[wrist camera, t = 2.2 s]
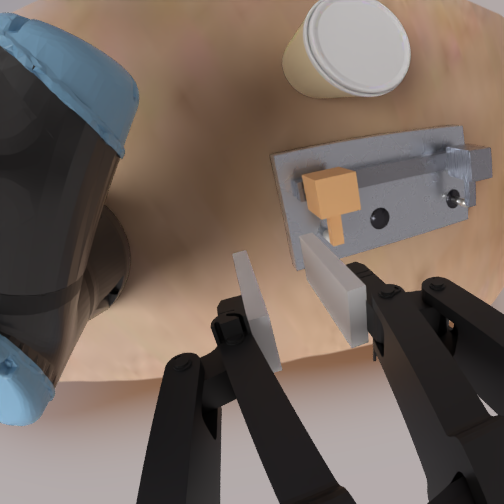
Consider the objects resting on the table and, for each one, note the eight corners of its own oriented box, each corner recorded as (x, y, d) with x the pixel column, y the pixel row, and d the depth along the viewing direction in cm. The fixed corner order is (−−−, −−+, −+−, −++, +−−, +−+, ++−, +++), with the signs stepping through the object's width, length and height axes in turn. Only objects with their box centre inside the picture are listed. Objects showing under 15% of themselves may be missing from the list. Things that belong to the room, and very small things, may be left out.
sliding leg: (310, 242, 35) (327, 262, 30) (297, 172, 32) (314, 180, 27) (343, 233, 35) (365, 250, 30) (333, 165, 32) (355, 171, 27)
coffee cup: (369, 74, 31) (431, 58, 20) (314, 122, 33) (365, 119, 22) (315, 15, 28) (360, -27, 17) (255, 60, 30) (280, 26, 19)
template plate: (292, 263, 38) (312, 294, 31) (269, 154, 33) (287, 160, 26) (459, 215, 39) (496, 231, 32) (452, 125, 35) (493, 128, 27)
